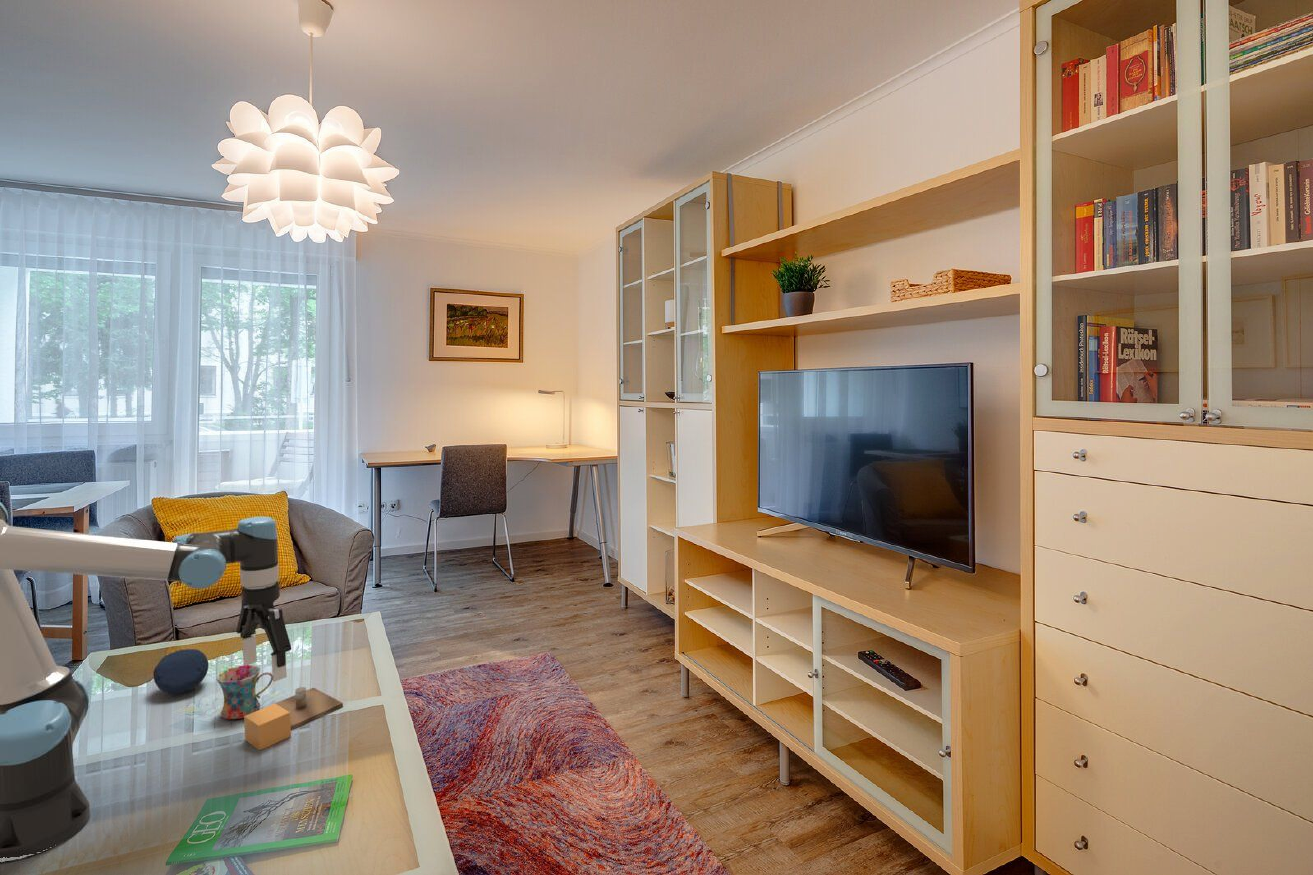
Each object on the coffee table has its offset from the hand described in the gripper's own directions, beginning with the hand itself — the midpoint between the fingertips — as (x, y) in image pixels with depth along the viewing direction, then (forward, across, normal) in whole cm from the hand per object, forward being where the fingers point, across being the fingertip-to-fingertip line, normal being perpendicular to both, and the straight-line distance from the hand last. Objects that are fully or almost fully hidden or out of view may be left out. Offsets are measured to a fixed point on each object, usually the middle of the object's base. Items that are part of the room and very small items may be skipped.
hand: (264, 671), depth 151 cm
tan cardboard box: (+17, 0, 0) cm, 17 cm away
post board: (+17, +6, -11) cm, 21 cm away
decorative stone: (+17, +41, +2) cm, 45 cm away
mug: (+17, +16, -3) cm, 24 cm away
